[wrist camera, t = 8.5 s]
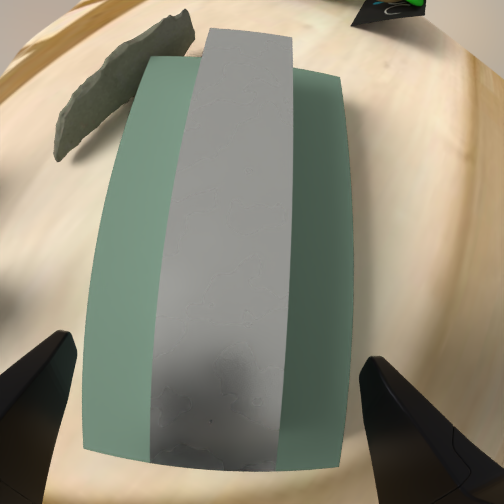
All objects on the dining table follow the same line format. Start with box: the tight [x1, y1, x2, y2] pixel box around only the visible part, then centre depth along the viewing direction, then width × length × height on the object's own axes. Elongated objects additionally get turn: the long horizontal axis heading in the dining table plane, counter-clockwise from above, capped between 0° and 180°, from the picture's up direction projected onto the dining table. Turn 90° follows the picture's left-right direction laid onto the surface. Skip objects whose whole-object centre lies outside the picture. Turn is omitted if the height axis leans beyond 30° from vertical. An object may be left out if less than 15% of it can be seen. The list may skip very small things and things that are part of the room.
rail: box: [150, 28, 293, 472], centre depth 12 cm, size 18×4×4 cm, turn 176°
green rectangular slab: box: [82, 56, 354, 471], centre depth 16 cm, size 22×12×3 cm, turn 176°
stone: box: [53, 9, 195, 162], centre depth 17 cm, size 13×2×5 cm, turn 143°
